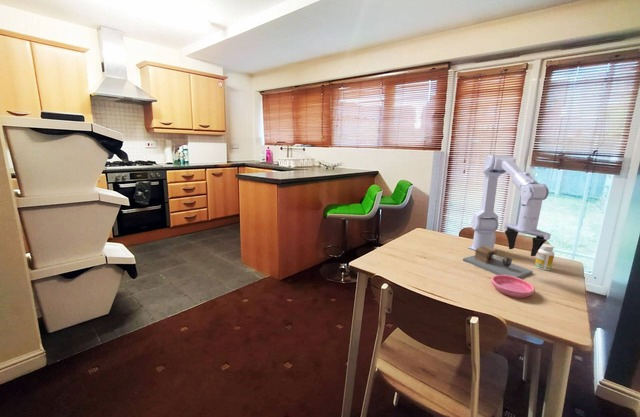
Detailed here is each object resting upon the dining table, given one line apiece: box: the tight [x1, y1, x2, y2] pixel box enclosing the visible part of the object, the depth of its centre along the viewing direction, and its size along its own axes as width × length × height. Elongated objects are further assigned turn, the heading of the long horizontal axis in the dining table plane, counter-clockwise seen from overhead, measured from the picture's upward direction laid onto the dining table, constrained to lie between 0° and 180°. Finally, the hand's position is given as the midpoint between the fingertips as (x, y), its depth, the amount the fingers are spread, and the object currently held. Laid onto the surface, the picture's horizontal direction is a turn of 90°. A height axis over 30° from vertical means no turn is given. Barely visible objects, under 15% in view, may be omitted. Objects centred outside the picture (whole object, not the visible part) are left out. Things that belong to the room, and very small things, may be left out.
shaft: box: [489, 253, 513, 267], centre depth 117 cm, size 4×10×4 cm, turn 29°
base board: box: [462, 254, 534, 279], centre depth 117 cm, size 14×20×1 cm
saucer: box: [490, 274, 536, 299], centre depth 98 cm, size 12×12×3 cm
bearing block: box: [474, 246, 497, 263], centre depth 121 cm, size 6×5×5 cm
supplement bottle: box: [534, 243, 555, 271], centre depth 116 cm, size 5×5×10 cm
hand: (521, 252), depth 108 cm, fingers open, 7 cm apart
